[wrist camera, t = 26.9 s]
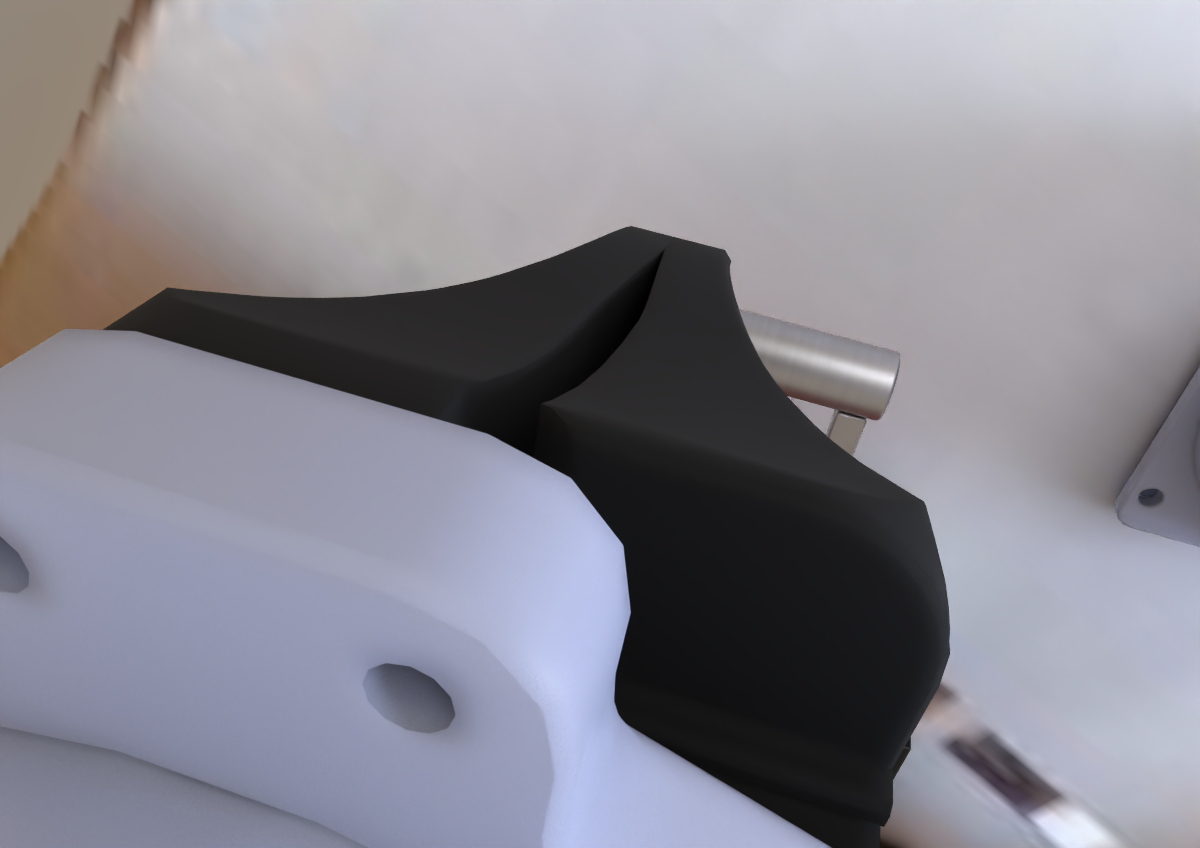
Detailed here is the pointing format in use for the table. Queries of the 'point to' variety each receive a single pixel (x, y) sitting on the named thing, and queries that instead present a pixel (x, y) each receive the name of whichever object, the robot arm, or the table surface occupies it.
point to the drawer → (827, 372)
